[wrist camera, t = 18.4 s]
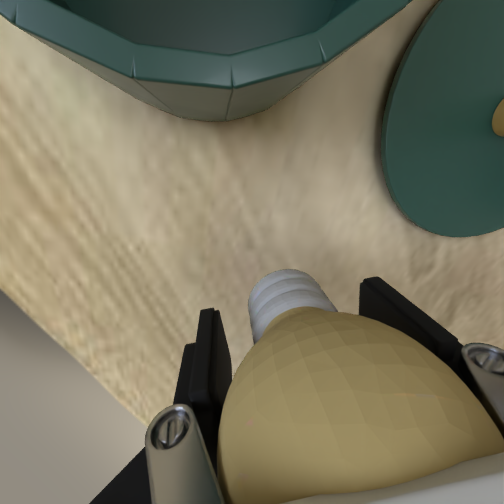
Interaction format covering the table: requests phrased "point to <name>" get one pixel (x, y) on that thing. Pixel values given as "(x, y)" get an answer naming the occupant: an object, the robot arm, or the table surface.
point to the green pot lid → (449, 121)
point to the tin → (202, 46)
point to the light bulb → (338, 403)
